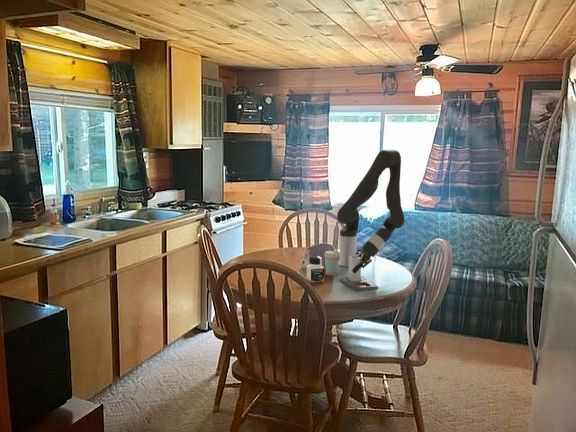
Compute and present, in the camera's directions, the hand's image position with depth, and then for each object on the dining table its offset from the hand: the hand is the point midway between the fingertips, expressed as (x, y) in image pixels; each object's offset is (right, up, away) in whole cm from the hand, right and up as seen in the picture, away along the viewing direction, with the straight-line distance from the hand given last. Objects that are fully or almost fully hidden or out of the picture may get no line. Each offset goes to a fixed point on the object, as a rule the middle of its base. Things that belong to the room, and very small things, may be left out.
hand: (351, 270), depth 237 cm
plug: (+2, -5, +1) cm, 6 cm away
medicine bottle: (-17, -6, +5) cm, 19 cm away
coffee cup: (-8, -4, +15) cm, 18 cm away
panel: (+3, -7, -3) cm, 8 cm away
